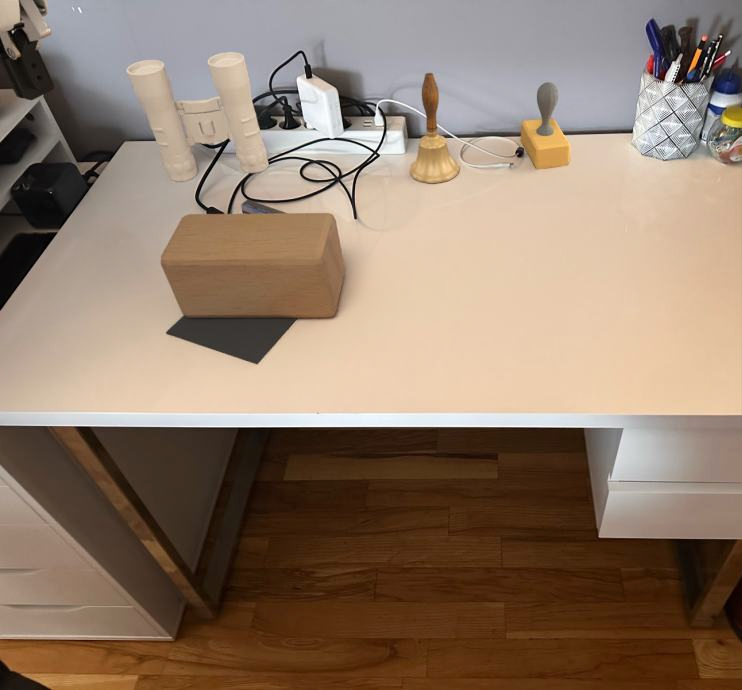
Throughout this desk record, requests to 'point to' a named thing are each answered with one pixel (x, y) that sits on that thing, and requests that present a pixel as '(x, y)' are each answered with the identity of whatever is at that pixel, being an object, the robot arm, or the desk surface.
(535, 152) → the rubber stamp
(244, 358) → the mat
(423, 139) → the hand bell
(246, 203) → the mini dv tape
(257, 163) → the binoculars
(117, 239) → the desk surface
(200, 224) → the block
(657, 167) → the desk surface
